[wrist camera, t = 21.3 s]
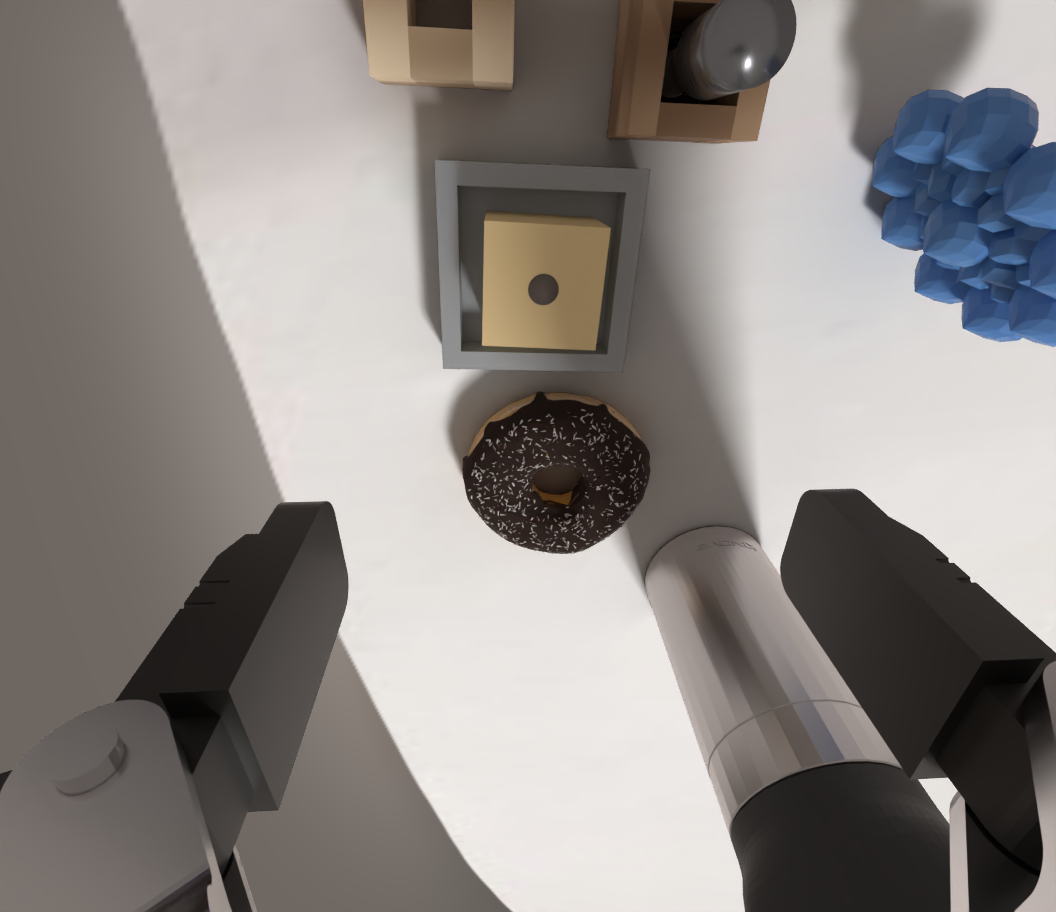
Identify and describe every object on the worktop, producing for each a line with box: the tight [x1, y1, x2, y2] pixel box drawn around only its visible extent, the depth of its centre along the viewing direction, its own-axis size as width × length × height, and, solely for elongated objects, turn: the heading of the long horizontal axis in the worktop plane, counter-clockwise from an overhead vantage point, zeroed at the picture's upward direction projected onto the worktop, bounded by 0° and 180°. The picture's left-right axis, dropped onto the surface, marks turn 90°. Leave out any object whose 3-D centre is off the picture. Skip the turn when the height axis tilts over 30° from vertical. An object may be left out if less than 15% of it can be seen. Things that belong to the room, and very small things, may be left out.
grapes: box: [872, 88, 1056, 347], centre depth 23 cm, size 12×7×12 cm, turn 31°
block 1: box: [482, 211, 611, 351], centre depth 26 cm, size 6×6×5 cm
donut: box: [463, 392, 650, 554], centre depth 34 cm, size 11×12×4 cm
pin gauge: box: [661, 0, 796, 100], centre depth 21 cm, size 3×3×9 cm
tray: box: [434, 160, 650, 372], centre depth 28 cm, size 10×10×2 cm
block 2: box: [607, 0, 770, 143], centre depth 23 cm, size 6×6×5 cm
